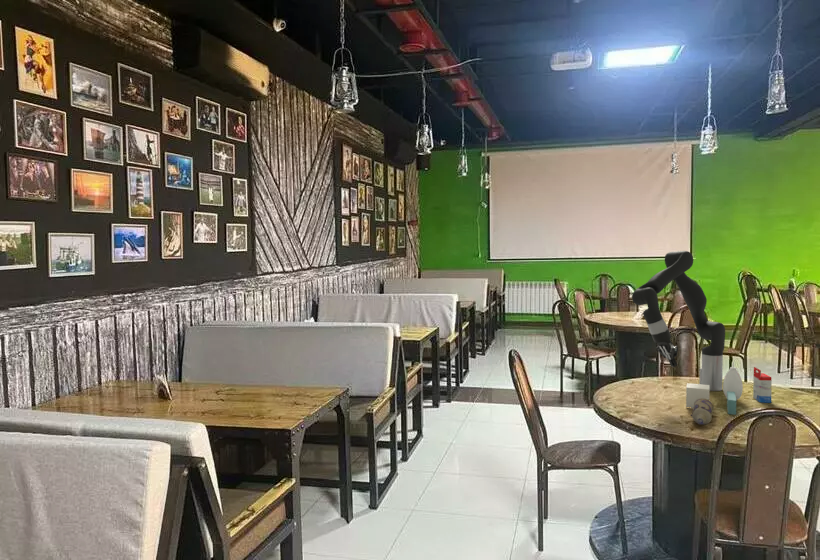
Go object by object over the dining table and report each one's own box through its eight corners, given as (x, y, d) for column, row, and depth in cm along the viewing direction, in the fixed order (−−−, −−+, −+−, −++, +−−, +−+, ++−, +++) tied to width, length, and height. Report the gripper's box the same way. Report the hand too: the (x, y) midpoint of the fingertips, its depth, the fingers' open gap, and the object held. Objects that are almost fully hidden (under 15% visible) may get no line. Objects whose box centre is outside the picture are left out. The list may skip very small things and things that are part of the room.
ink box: (771, 403, 260) (772, 370, 259) (759, 402, 261) (760, 370, 260) (764, 398, 269) (764, 366, 268) (752, 397, 270) (753, 366, 269)
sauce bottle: (741, 399, 267) (742, 360, 266) (743, 403, 260) (743, 363, 259) (722, 398, 270) (722, 359, 269) (723, 402, 263) (723, 362, 262)
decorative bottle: (693, 412, 249) (694, 396, 248) (713, 414, 245) (714, 399, 244) (687, 428, 226) (688, 411, 226) (709, 431, 223) (710, 414, 222)
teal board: (727, 413, 245) (728, 399, 244) (726, 404, 259) (727, 391, 259) (736, 414, 243) (736, 400, 243) (734, 405, 258) (734, 391, 257)
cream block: (686, 407, 255) (686, 387, 255) (686, 402, 263) (687, 383, 263) (709, 410, 251) (709, 389, 251) (709, 405, 259) (709, 385, 259)
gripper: (643, 333, 264) (658, 368, 265) (661, 333, 252) (677, 370, 252) (656, 326, 266) (671, 361, 266) (675, 326, 253) (691, 363, 253)
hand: (674, 366), depth 259 cm, fingers closed
